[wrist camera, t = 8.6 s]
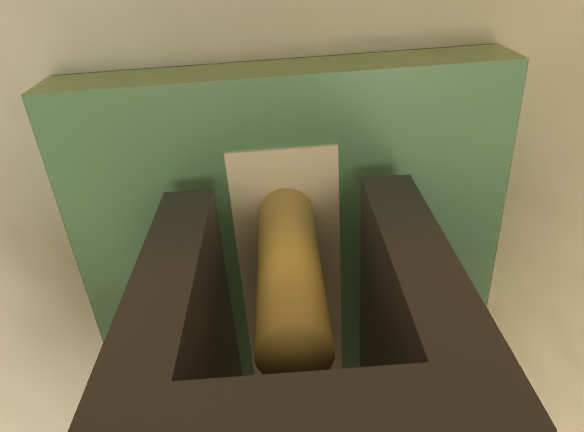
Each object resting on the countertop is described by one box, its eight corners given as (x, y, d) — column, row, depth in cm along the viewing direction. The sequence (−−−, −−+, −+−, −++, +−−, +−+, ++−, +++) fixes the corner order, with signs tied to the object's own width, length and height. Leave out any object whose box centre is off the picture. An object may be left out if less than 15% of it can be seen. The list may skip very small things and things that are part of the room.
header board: (49, 75, 11) (-142, 203, 6) (498, 43, 11) (698, 142, 6) (155, 429, 17) (106, 649, 12) (448, 408, 17) (527, 616, 12)
